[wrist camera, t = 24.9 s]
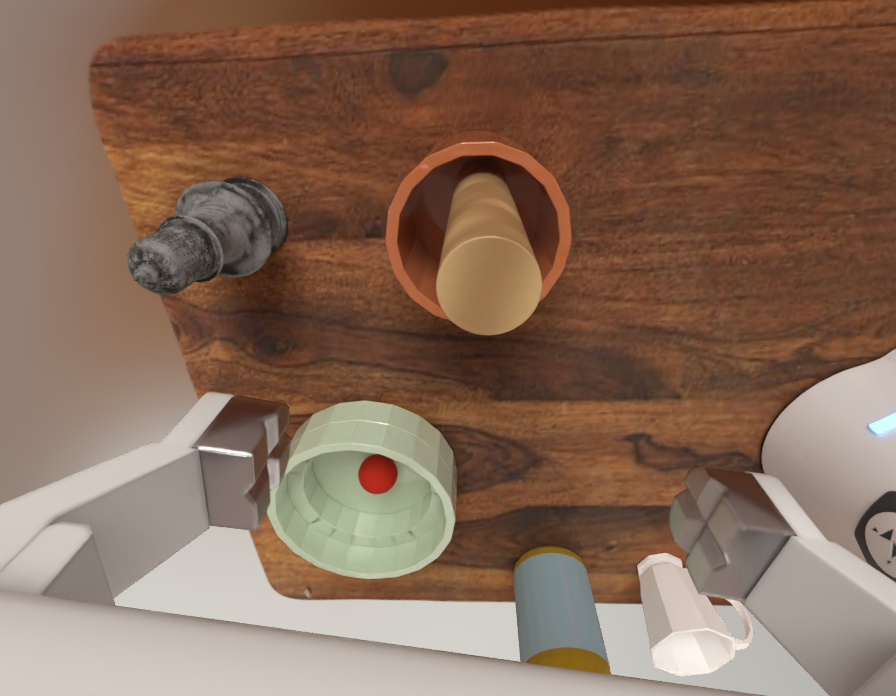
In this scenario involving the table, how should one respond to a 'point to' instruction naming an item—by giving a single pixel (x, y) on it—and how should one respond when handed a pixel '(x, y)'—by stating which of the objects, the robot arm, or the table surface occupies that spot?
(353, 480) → the bowl
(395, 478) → the ball
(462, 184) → the stick
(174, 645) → the robot arm
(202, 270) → the grey chess piece
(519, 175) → the crock
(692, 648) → the cup
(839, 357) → the table surface
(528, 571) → the bottle
